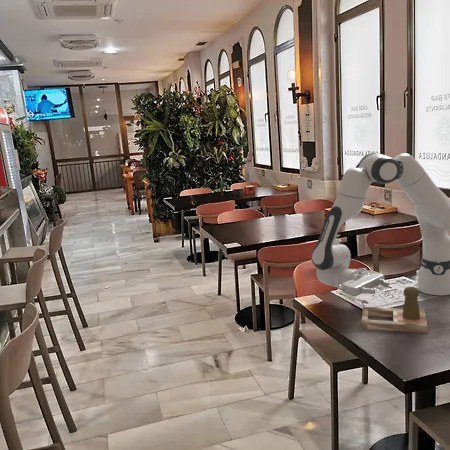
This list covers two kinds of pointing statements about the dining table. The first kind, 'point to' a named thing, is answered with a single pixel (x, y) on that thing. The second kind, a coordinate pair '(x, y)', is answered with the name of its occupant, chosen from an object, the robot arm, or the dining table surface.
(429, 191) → the robot arm
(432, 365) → the dining table surface
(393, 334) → the dining table surface
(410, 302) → the cork
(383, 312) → the wooden frame
